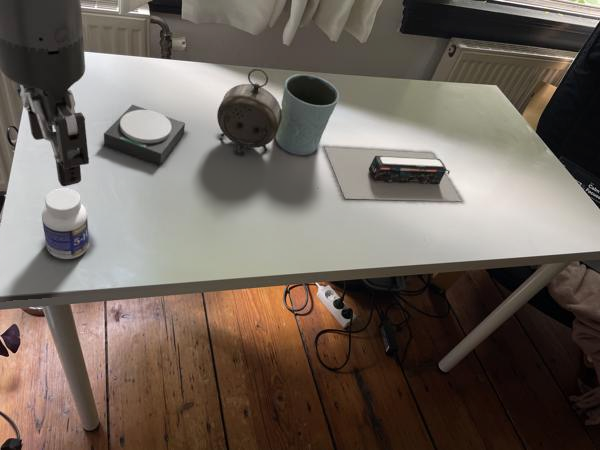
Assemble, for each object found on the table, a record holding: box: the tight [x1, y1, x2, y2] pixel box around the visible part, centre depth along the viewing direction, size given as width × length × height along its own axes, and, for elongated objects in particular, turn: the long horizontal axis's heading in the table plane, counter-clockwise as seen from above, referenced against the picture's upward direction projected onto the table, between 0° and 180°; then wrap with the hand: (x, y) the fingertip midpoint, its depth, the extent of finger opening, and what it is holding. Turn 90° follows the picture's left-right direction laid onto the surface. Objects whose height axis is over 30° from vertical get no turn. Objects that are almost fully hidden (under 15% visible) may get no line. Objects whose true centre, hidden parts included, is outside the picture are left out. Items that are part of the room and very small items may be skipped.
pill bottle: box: [41, 187, 90, 260], centre depth 64 cm, size 5×5×9 cm
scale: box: [103, 104, 186, 165], centre depth 85 cm, size 10×10×3 cm
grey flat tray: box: [324, 146, 462, 202], centre depth 95 cm, size 14×25×4 cm, turn 103°
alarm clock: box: [216, 67, 282, 154], centre depth 85 cm, size 11×5×16 cm, turn 80°
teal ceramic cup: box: [275, 73, 340, 156], centre depth 92 cm, size 10×10×12 cm
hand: (56, 159), depth 56 cm, fingers open, 8 cm apart
